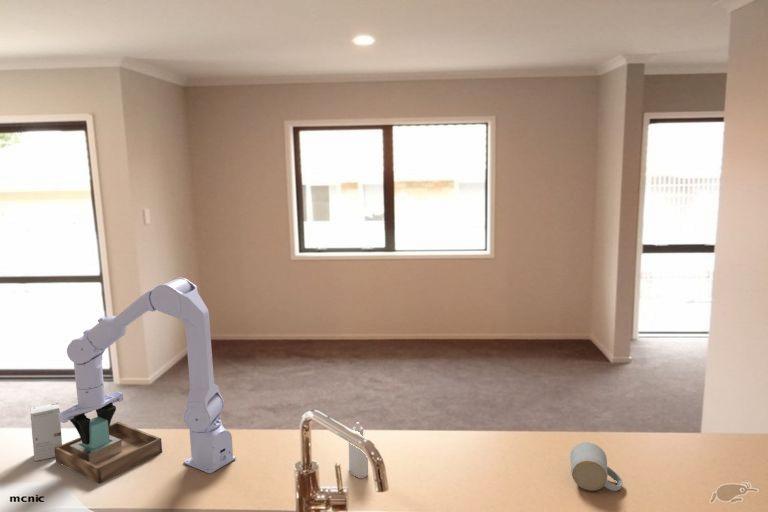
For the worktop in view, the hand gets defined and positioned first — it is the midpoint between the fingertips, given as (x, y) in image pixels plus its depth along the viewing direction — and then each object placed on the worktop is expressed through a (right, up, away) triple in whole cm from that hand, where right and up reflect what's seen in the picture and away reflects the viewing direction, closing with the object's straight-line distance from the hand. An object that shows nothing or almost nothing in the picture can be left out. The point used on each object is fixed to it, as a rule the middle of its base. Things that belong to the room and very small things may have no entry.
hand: (95, 439), depth 129 cm
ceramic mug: (+115, -6, -12) cm, 116 cm away
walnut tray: (+3, -5, +1) cm, 6 cm away
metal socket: (0, -5, +1) cm, 5 cm away
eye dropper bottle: (+64, -5, -7) cm, 64 cm away
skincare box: (-13, -5, +3) cm, 14 cm away
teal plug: (0, -2, 0) cm, 2 cm away
